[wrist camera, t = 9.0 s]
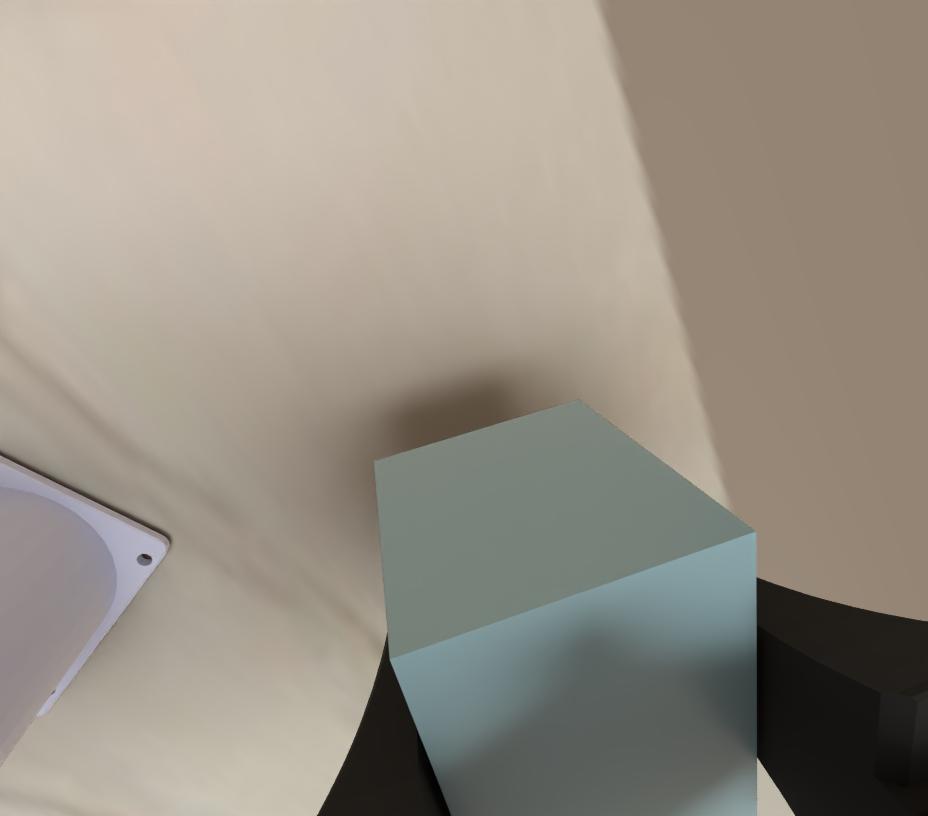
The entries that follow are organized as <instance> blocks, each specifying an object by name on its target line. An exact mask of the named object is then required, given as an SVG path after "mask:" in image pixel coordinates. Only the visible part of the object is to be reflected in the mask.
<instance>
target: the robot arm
mask: <svg viewBox="0 0 928 816" xmlns="http://www.w3.org/2000/svg"><path fill="white" fill-rule="evenodd" d="M169 547H170V544H169V541H168V539H167V538H166V537H164V536H163V535H161V534H159V533H157V532H155V531H153V530H151V529H149V528H147V527H145V526H143V525H141V524H139V523H137V522H135V521H133V520H131V519H129V518H127V517H125V516H122V515H120V514H118V513H116V512H114V511H112V510H110V509H108V508H106V507H104V506H102V505H100V504H98V503H96V502H94V501H92V500H90V499H88V498H86V497H84V496H82V495H80V494H78V493H76V492H73V491H71V490H69V489H67V488H65V487H63V486H61V485H59V484H57V483H55V482H53V481H51V480H49V479H47V478H45V477H43V476H41V475H39V474H37V473H35V472H33V471H31V470H29V469H27V468H25V467H22V466H20V465H18V464H16V463H14V462H12V461H10V460H8V459H6V458H4V457H2V456H0V766H1V765H2V764H3V762H4V761H5V759H6V758H7V757H8V755H9V754H10V752H11V751H12V749H13V748H14V747H15V745H16V744H17V742H18V741H19V739H20V738H21V737H22V735H23V734H24V732H25V731H26V729H27V728H28V727H29V725H30V724H31V722H32V721H33V719H34V718H35V717H37V716H42V715H44V714H46V713H47V712H48V711H49V710H50V708H51V707H52V706H53V704H54V703H55V702H56V700H57V699H58V698H59V696H60V695H61V694H62V692H63V691H64V690H65V688H66V687H67V686H68V684H69V683H70V682H71V680H72V679H73V678H74V676H75V675H76V674H77V672H78V671H79V670H80V668H81V667H82V666H83V664H84V663H85V662H86V660H87V659H88V658H89V656H90V655H91V654H92V652H93V651H94V650H95V648H96V647H97V646H98V644H99V643H100V642H101V640H102V639H103V638H104V636H105V635H106V634H107V632H108V631H109V630H110V628H111V627H112V626H113V624H114V623H115V622H116V620H117V619H118V618H119V616H120V615H121V614H122V612H123V611H124V610H125V608H126V607H127V605H128V604H129V603H130V601H131V600H132V599H133V597H134V596H135V595H136V593H137V592H138V591H139V589H140V588H141V587H142V585H143V584H144V583H145V581H146V580H147V579H148V577H149V576H150V575H151V573H152V572H153V571H154V569H155V568H156V567H157V565H158V564H159V563H160V561H161V560H162V559H163V557H164V556H165V555H166V553H167V552H168V550H169ZM141 554H148V555H150V556H151V557H152V559H150V560H148V559H145V558H143V557H142V555H141ZM756 615H757V758H758V759H759V761H760V762H761V764H762V765H763V767H764V768H765V770H766V771H767V773H768V774H769V776H770V777H771V779H772V780H773V782H774V783H775V785H776V786H777V788H778V789H779V791H780V792H781V794H782V795H783V797H784V798H785V800H786V802H787V803H788V805H789V806H790V808H791V809H792V811H793V813H794V814H795V816H928V621H921V620H915V619H909V618H904V617H899V616H893V615H888V614H883V613H878V612H873V611H869V610H864V609H860V608H856V607H852V606H848V605H844V604H840V603H836V602H832V601H828V600H824V599H821V598H817V597H814V596H810V595H807V594H803V593H801V592H798V591H794V590H791V589H788V588H785V587H782V586H779V585H776V584H773V583H771V582H767V581H765V580H762V579H760V578H757V577H756ZM317 816H451V813H450V811H449V808H448V806H447V803H446V801H445V798H444V795H443V793H442V790H441V788H440V785H439V783H438V780H437V778H436V775H435V773H434V770H433V768H432V765H431V763H430V760H429V758H428V755H427V752H426V750H425V747H424V745H423V742H422V740H421V737H420V735H419V732H418V730H417V727H416V725H415V722H414V720H413V717H412V715H411V712H410V709H409V707H408V704H407V702H406V699H405V697H404V694H403V692H402V689H401V687H400V684H399V682H398V679H397V677H396V674H395V672H394V669H393V666H392V664H391V661H390V656H389V644H388V632H387V637H386V641H385V646H384V650H383V654H382V658H381V662H380V665H379V669H378V672H377V675H376V679H375V682H374V686H373V689H372V692H371V695H370V698H369V701H368V703H367V706H366V709H365V712H364V715H363V718H362V720H361V723H360V726H359V728H358V731H357V733H356V736H355V738H354V741H353V743H352V745H351V748H350V750H349V752H348V754H347V757H346V759H345V761H344V763H343V766H342V768H341V770H340V772H339V774H338V776H337V778H336V780H335V782H334V784H333V786H332V788H331V790H330V792H329V794H328V796H327V798H326V800H325V802H324V804H323V806H322V807H321V809H320V811H319V813H318V815H317Z"/></svg>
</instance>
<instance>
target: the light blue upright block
mask: <svg viewBox="0 0 928 816" xmlns="http://www.w3.org/2000/svg"><path fill="white" fill-rule="evenodd" d="M374 470H375V482H376V495H377V507H378V520H379V532H380V544H381V557H382V569H383V582H384V594H385V607H386V619H387V631H388V644H389V656H390V661H391V664H392V666H393V669H394V672H395V674H396V677H397V679H398V682H399V684H400V687H401V689H402V692H403V694H404V697H405V699H406V702H407V704H408V707H409V709H410V712H411V715H412V717H413V720H414V722H415V725H416V727H417V730H418V732H419V735H420V737H421V740H422V742H423V745H424V747H425V750H426V752H427V755H428V758H429V760H430V763H431V765H432V768H433V770H434V773H435V775H436V778H437V780H438V783H439V785H440V788H441V790H442V793H443V795H444V798H445V801H446V803H447V806H448V808H449V811H450V813H451V816H757V615H756V531H755V530H754V529H752V528H751V527H750V526H748V525H747V524H746V523H744V522H743V521H742V520H740V519H739V518H738V517H736V516H735V515H734V514H732V513H731V512H730V511H728V510H727V509H726V508H724V507H723V506H722V505H720V504H719V503H718V502H716V501H715V500H714V499H712V498H711V497H709V496H708V495H707V494H705V493H704V492H703V491H701V490H700V489H699V488H697V487H696V486H695V485H693V484H692V483H691V482H689V481H688V480H687V479H685V478H684V477H683V476H681V475H680V474H679V473H677V472H676V471H675V470H673V469H672V468H671V467H669V466H668V465H666V464H665V463H664V462H662V461H661V460H660V459H658V458H657V457H656V456H654V455H653V454H652V453H650V452H649V451H648V450H646V449H645V448H644V447H642V446H641V445H640V444H638V443H637V442H636V441H634V440H633V439H632V438H630V437H629V436H628V435H626V434H625V433H624V432H622V431H621V430H619V429H618V428H617V427H615V426H614V425H613V424H611V423H610V422H609V421H607V420H606V419H605V418H603V417H602V416H601V415H599V414H598V413H597V412H595V411H594V410H593V409H591V408H590V407H589V406H587V405H586V404H585V403H583V402H582V401H581V400H579V399H577V400H574V401H571V402H567V403H564V404H561V405H557V406H554V407H551V408H547V409H544V410H541V411H538V412H534V413H531V414H528V415H524V416H521V417H518V418H514V419H511V420H508V421H505V422H501V423H498V424H495V425H491V426H488V427H485V428H481V429H478V430H475V431H472V432H468V433H465V434H462V435H458V436H455V437H452V438H448V439H445V440H442V441H439V442H435V443H432V444H429V445H425V446H422V447H419V448H415V449H412V450H409V451H405V452H402V453H399V454H396V455H392V456H389V457H386V458H382V459H379V460H376V461H374Z"/></svg>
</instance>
